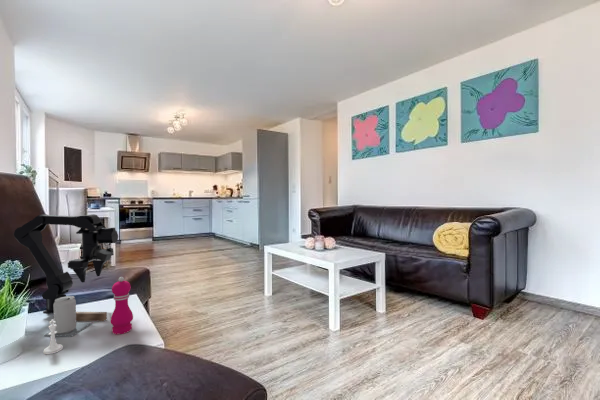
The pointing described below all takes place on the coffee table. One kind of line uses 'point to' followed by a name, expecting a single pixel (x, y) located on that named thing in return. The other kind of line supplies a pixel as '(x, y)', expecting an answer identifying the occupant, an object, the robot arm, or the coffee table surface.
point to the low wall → (91, 316)
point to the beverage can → (65, 314)
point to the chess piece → (52, 340)
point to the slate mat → (78, 328)
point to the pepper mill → (121, 308)
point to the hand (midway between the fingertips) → (91, 279)
